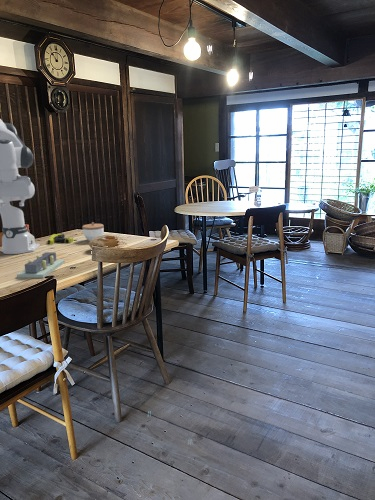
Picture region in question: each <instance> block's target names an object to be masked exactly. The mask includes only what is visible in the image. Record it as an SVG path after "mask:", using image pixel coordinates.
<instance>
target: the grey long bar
mask: <svg viewBox="0 0 375 500" xmlns="http://www.w3.org/2000/svg"><path fill="white" fill-rule="evenodd" d="M50 256H53V260H54V262H55V261H56V260H57V253H56V252H44V253H42V254H41V255H40V257H39V258H38V259H37V258H36V259H35V260H32V262H29V261H28V262H26V263H25V264H24V270H25V273H33V274H37V273H38V272H40V269H42V268H43V265H42V261H43V260H46V265H48V264H49V263H50Z"/></svg>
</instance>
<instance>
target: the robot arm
mask: <svg viewBox="0 0 375 500" xmlns="http://www.w3.org/2000/svg"><path fill="white" fill-rule="evenodd" d="M33 164H34V154H33V152H32V150H31V149H30V148H29V147H27V146H26V144H25V142H24V141H23V140H22V138H20V137H19V135H18V132H17V129H16V127H15V126H14V125H13V123H9V122H4V121H3V120H2V119H1V118H0V217H1V222H2V229H1V230H2V234H3V235H2V236H1V247H2V248H1V249H0V252H2V253H3V254H4V255H5V254H6V255H19V254H25V253H30V252H35V250H37V249H38V248H40V245H41V244H40V243H38V242H36V238H35V236H34V235H33V234H31V233H30V232H29V231H28V229H29V228H30V227H29V226H30V225H29V224H25V223H26V222H25V217H24V216H25V214H24V211H23V210H22V209H21V208H19V207H25V201H26V200H28V199H32V198H33V197H34V195H35V191H36V190H35V185H34V184H33V182H32V181H31V178H30V177H29V176H27V175H20V174H19V168H21V169H28V168H30V167H31V166H32V165H33ZM13 201H14V202H15V201H20V202H19V203H18V204H19V205H18V206H19V207H16V206H13V205H11V202H13Z"/></svg>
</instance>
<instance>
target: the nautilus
mask: <svg viewBox="0 0 375 500" xmlns="http://www.w3.org/2000/svg"><path fill="white" fill-rule="evenodd" d="M121 240H122V243H120V241H121ZM123 240H126V241H127V239H125V238H124V236H122V237H120V236H116V235H111V234H110V235H109V234H103V235H101V236H98V237H96V238H93V239H92V240H91V241H88V246H89V247H90V249H93V248H92V245H98V246H108V247H117V248H119V249H120V248H124V247H125V245H126V242H124V241H123ZM127 246H129V245H128V244H127Z"/></svg>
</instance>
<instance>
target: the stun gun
mask: <svg viewBox="0 0 375 500" xmlns="http://www.w3.org/2000/svg"><path fill="white" fill-rule="evenodd" d="M73 242H74V238H73V237H66V236H65V234H64V233H57V234H56V233H53V234H51V236H50V237H49V239H48V241H47V243H48V244H47V245H55V244H57V243H58V244H71V243H73Z"/></svg>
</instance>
